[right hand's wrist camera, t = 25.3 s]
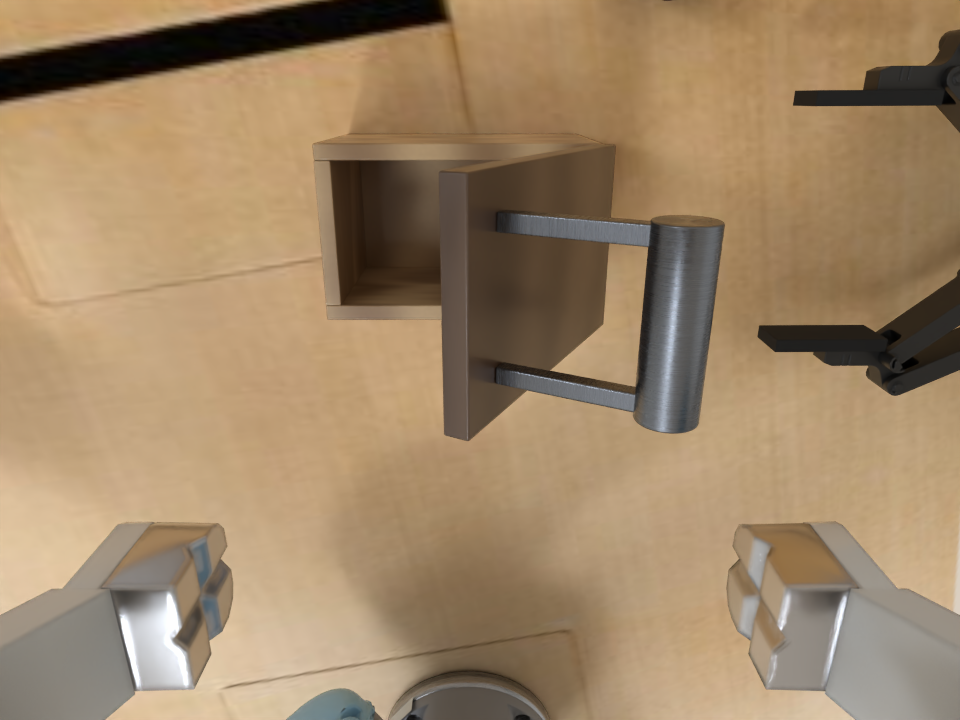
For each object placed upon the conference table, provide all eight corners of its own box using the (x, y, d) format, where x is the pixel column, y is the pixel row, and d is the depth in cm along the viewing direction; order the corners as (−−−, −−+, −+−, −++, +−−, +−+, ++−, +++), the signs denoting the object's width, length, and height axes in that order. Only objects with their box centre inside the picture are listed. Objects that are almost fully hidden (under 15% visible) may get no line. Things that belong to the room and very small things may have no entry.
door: (443, 435, 25) (677, 495, 21) (437, 170, 21) (716, 185, 18) (585, 321, 37) (747, 346, 33) (595, 143, 34) (777, 149, 30)
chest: (357, 276, 47) (326, 320, 37) (347, 133, 43) (311, 143, 34) (570, 276, 47) (592, 320, 37) (577, 133, 43) (603, 143, 34)
